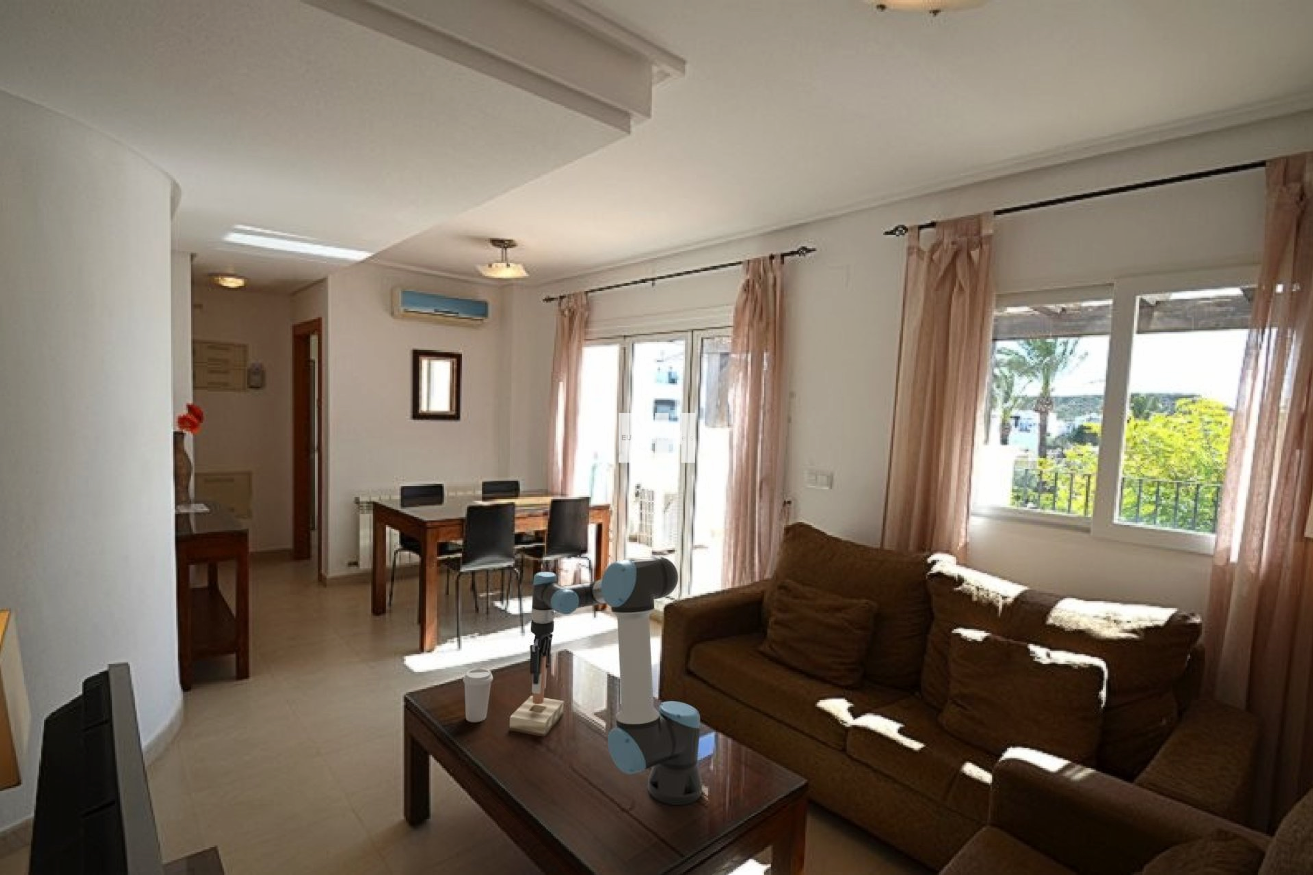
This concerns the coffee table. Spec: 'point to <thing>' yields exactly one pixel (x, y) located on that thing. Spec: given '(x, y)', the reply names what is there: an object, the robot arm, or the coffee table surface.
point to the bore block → (536, 716)
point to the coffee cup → (477, 693)
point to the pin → (540, 697)
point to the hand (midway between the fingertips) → (538, 689)
